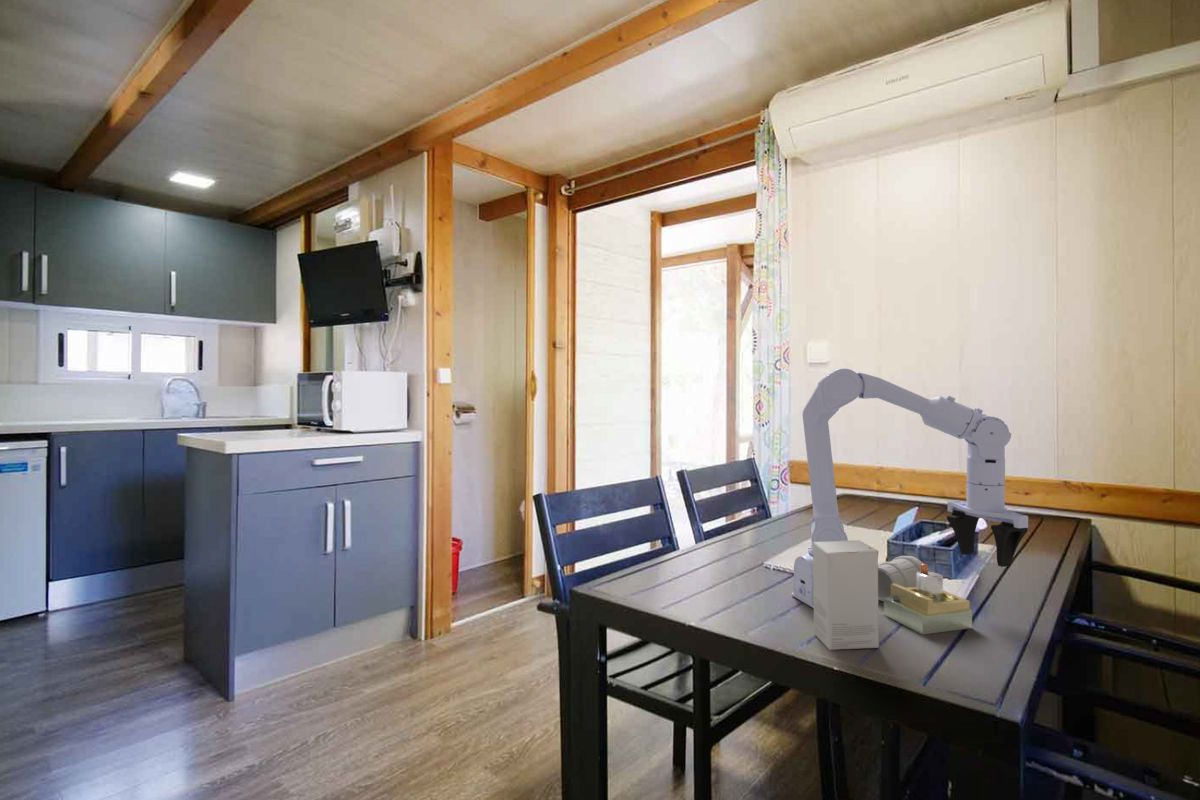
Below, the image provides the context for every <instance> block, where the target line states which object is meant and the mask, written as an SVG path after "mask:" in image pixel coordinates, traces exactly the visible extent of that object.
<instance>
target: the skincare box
mask: <svg viewBox="0 0 1200 800" xmlns="http://www.w3.org/2000/svg"><path fill="white" fill-rule="evenodd" d="M878 565H879V550H878V549H876V548H875V547H873V546H871V545H869V544H867V543H865V542H864V541H862V540H860V539H859V540H858V539H857V540H855V539H854V540H848V541H830V542H813V579H814V608H813V634H814V635H815V637H816V638H817V639H819V640H820V641H821V643H822V644H823V645H824V646H825V647H826V648H827V649H828V650H829V651H833V650H835V651H836V650H837V651H838V650H856V649H858V650H860V649H879V648H880V647H879V646H880V643H879V642H880V641H879V639H880V637H879V636H880V635H879V599H878Z"/></svg>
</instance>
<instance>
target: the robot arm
mask: <svg viewBox="0 0 1200 800" xmlns="http://www.w3.org/2000/svg"><path fill="white" fill-rule="evenodd" d="M857 398H858V399H862V400H863V399H864V400H865V399H866V400H868V399H879V400H882V401H883V402H884V401H885V402H887V403H890V404H893V405H895V406H897V407H900V408H903V409H906V410H907V411H911V412H912V413H913V412H914V413H916V414H918V415H920V417H921V418H922V419H921V420H922V422H923V424H924V425H926V426H928V427H930V428H932V429H935V430H937V431H940V432H943V433H944V434H946V435H949V436H951V437H954V438H957V439H958V440H959V439H960V440H963V439H964V440H965V442H966V443H967V456H966V502H965V501H960V500H948V501H947V512H949V513H951V514H947V515H946V520H947V522H949V525H950V526H951V528H952V530H953V533H954V535H955V538H956V541H957V544H958V549H959V551H960V554H961V555H963V556H965V555H966V556H967V555H973V552H974V549H975V536H976V535H975V534H976V530H977V525H978V522H979V520H980V519H982V520H987V521H990V522H995V523H1000V524H991V525H990V529H991V531H992V534H993V537H994V540H995V546H996V548H995V549H996V562H997V566H998V567H1000V568H1001V567H1002V568H1004V567H1011V566H1012V562H1013V559H1014V557H1015V553H1016V551H1017V549H1018V546H1019V544H1020V543H1021V541H1022V540H1023V538H1024V537H1025V535H1026V534H1027V533H1028V528H1029V516H1028V515H1026V514H1025V515H1023V514H1021V513H1018V512H1015V511H1012V510H1009V509H1008V508H1007V507H1006V505H1005V504H1006V502H1005V500H1006V458H1005V454H1006V453H1005V450H1006V448H1005V447H1006V446H1007V445H1008V444H1009V442H1010V441H1011V437H1012V432H1010V430H1009V427H1008V425H1007V424H1006V423H1005V421H1004V420H1002V419H1001V418H999V417H995V416H990V415H987V414H986V413H985V414H984V413H983V412H984V410H983V409H980V408H978V407H976V408H974V409H973V408H971V407H969V406H966V405H963V404H961V403H959V402H956V401H955V400H956V398H955V397H953V396H950V395H946V396H945V397H944V396H942V395H937V396H935V397H932V398H926V397H924V396H922V395H920V394H917V393H915V392H912V391H910V390H908V389H906V388H903V387H901V386H899V385H896V384H894V383H892V382H890V381H887V380H885V379H883V378H881V377H878V376H875V375H870V374H868V373H867V374H866V373H864V372H863V373H862V372H856V371H854V370H852V369H850V368H839V369H836V370H835V369H834V370H833V371H831V372H829V373H828V374H827V375H825V376H824V377H823V378H822V379H821V380H820V381H819V382H818V383H817V385H816V387H815V388H814V390H813V392H812V394H811V396H810V398H809V399H808V401H807V403H806V404H805V406H804V408H803V410H802V423H803V431H804V441H805V442H804V443H805V449H806V458H807V467H808V475H809V476H808V477H809V485H810V486H809V487H810V494H811V503H812V504H811V505H812V515H813V517H812V520H811V523H810V525H809V532H810V536H811V537H810V540H811V545H810V546H808V548H807V552H806V553H805V554H804V555H800V556H797V557H796V558H795V560H794V564H793V592H791V596H793V598H795V599H798V600H799V601H801V602H803V604H805V605H808V606H809V607H811V608H813V609H814V579H813V542H830V541H849V539H848V535H847V533H846V531H845V529H844V525H843V522H842V521H841V518H840V512H839V511H840V510H839V506H838V498H837V497H838V496H837V489H836V487H837V486H836V481H835V470H834V461H833V453H832V445H831V444H832V443H831V435H830V428H829V427H830V425H829V422H830V421H829V420H831V419H832V418H833V417H834V415H835V414H837V412H838V411H839V410H840V409H841V408H842V407H844V406H846V405H848V404H850V403H851V402H854V401H855V400H857Z"/></svg>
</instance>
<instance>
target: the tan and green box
mask: <svg viewBox="0 0 1200 800" xmlns="http://www.w3.org/2000/svg"><path fill="white" fill-rule="evenodd" d="M970 604H971V601H970V600H968V599H966V598H963V597H960V596H958V595H955V594H953V593H950V592H948V591H946V590H943V602H936V603H933V599H931V598H928V597H926V596H924V595H921V594H919V593H917V592H916V587H908V588H905V587H903V586H900V585H898V584H896V583H894V584H891V597H887V598H884V601H883V615H884V616H886V617H887V618H888V619H889V618H890V619H892V620H894V621H896V622H897V623H900V624H901V625H903V626H905V627H907V628H909V629H911V630H913V631H915V632H917V633H919V634H921V635H931V634H936V633H945V632H953V631H961V630H967V629H968V630H969V629H973V610H972V609H971V606H970Z"/></svg>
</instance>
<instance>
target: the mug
mask: <svg viewBox="0 0 1200 800" xmlns="http://www.w3.org/2000/svg"><path fill="white" fill-rule="evenodd" d="M921 563H924V562H922V561H921V560H920V559H918V558H917V557H915V556H912V555H900V556H897V557H895V558H893V559H891V561H883V562H881V563H878V601H881V602H884V598H887V597H891V584H894V583H896V584H898V585H900V586H903V587H905V588H908V587H916V586H917V572H920V564H921ZM928 572H930V571H929V570H928Z"/></svg>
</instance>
